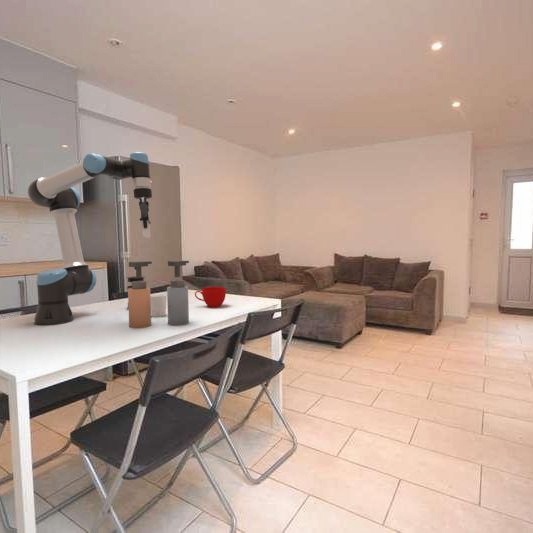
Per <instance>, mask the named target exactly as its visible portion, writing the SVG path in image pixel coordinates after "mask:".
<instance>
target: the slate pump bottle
mask: <svg viewBox="0 0 533 533" xmlns="http://www.w3.org/2000/svg"><path fill="white" fill-rule="evenodd" d="M185 283H186V282H185V279H172V280H170V286H167V287H166V293H167V294H166V305H167V324H168V325H170V326H185V325H188V324H189V323H190V321H189V320H190V318H189V314H190V313H189V312H190V311H189V309H190V308H189V286H187V285H186V284H185Z"/></svg>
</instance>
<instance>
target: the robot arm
mask: <svg viewBox="0 0 533 533" xmlns="http://www.w3.org/2000/svg"><path fill="white" fill-rule="evenodd" d="M99 176H107V177H109V178H110V179H111V180H114V181H117V180H119V181H121V180H125V179H129V178H132V179H131V180H132V188H133V197H134V198H135V199H136V200H137V199H138V200H139V201H138V206H139V210H140V218H139V221H140V222H141V230H142V237H144V239H151V238H152V237H151V236H152V235H151V234H152V233H151V226H150V225H151V224H152V222H151V221H150V218H149V210H150V209H149V207H150V203H149V201H147V200H148V199H151V198H152V197H153V193H152V192H153V191H152V189H151V188H152V183H153V181H152V180H151V175H150V161H149V156H148V154H147V153H146V152H142V151H133V152H131V153H130V154H129V159H126V160H125V159H124V160H119V159H115V158H112V157H108V156H104V155H101V154H98V153H93V152H89V153H87V154H86V155H84V157H83V160H82V161H81V162H79V163H77V164H75V165H72V166H69V167H68V168H66V169H64V170H62V171H59V172H56V173H55V174H52V175H50V176H48V177H43V176H42V177H40V178H37V179H35V180H34V181H32V182H31V183H30V184H29V185H28V189H27V195H28V197H29V199H30V200H31V202H32V203H33V204H35V205H37V206H39V207H42V208H49V214H51V215H52V216H54V220H55V224H56V230H57V234H58V235H57V236H58V241H59V244H60V250H61V254H62V260H63V264H64V265H63V266H62V267H61V268H54V269H47V270H46V269H45V270H43V271H41V272H39V273H38V274H37V276H36V287H37V303H38V305H37V308H36V312H35V315H34V325H38V326H49V325H60V324H65V323H68V322H69V323H70V322H71V321H74V314H73V311H72V310H71V307H70V304H69V297H70V296H76V295H83V294H86V293H90V292H91V291H92V290H93V289H94V288H95V287H96V284H97V275H96V273H95V272H94V271H93V269H90V267H89V264H88V263H86V262H85V259H84V256H83V251H82V245H81V241H80V236H79V231H78V226H77V220H76V215H75V214H76V213H77V212H78V208H79V207H80V204H81V197H80V196H81V195H80V194H79V191H78V190H77V189H76V188H74V187H75V186H79V185H80V184H83V183H85V182H87V181H89V180H92V179H94V178H97V177H99Z"/></svg>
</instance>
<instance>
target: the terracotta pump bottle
mask: <svg viewBox="0 0 533 533" xmlns="http://www.w3.org/2000/svg"><path fill="white" fill-rule="evenodd" d="M131 286H132V288H129V289H127V298H128V299H127V307H128V306H129V310H128V326H129V328H131V329H143V328H147V327H150V326H152V316H151V298H150V295H151V287H149V286H147V281H145V280H144V281H135V282H131Z"/></svg>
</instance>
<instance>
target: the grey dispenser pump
mask: <svg viewBox="0 0 533 533" xmlns="http://www.w3.org/2000/svg"><path fill="white" fill-rule="evenodd" d="M152 264H153V261H149V260H148V261H141V260H139V261H128V268H134V267H136V278H142V277H143V276H142V268H144V267H148V266H149V265H152Z"/></svg>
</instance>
